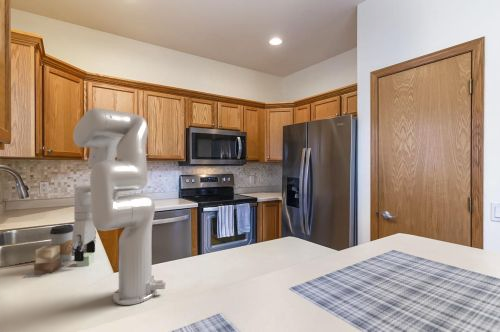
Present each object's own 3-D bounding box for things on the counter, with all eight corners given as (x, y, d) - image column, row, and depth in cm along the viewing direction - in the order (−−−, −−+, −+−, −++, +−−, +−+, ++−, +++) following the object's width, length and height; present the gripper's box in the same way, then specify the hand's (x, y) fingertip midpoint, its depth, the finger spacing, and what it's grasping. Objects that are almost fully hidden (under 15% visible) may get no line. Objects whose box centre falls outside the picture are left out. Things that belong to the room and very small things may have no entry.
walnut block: (61, 267, 103) (61, 257, 103) (51, 273, 97) (51, 263, 97) (44, 268, 102) (44, 258, 102) (34, 274, 97) (34, 263, 97)
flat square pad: (71, 266, 106) (71, 264, 106) (54, 278, 95) (54, 275, 95) (41, 267, 105) (41, 266, 105) (21, 279, 94) (21, 277, 94)
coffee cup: (61, 265, 107) (61, 229, 107) (45, 264, 109) (44, 228, 109) (78, 258, 115) (78, 224, 115) (63, 257, 117) (62, 224, 117)
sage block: (94, 264, 108) (94, 252, 108) (88, 268, 104) (88, 256, 104) (82, 265, 108) (82, 253, 108) (76, 269, 103) (76, 257, 103)
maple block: (60, 257, 103) (60, 245, 103) (51, 262, 98) (51, 249, 98) (45, 258, 102) (45, 245, 102) (35, 263, 97) (35, 250, 97)
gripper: (85, 211, 114) (85, 249, 114) (63, 220, 97) (63, 265, 97) (104, 211, 115) (103, 249, 115) (84, 219, 98) (84, 264, 98)
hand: (85, 256), depth 106 cm, fingers open, 9 cm apart
